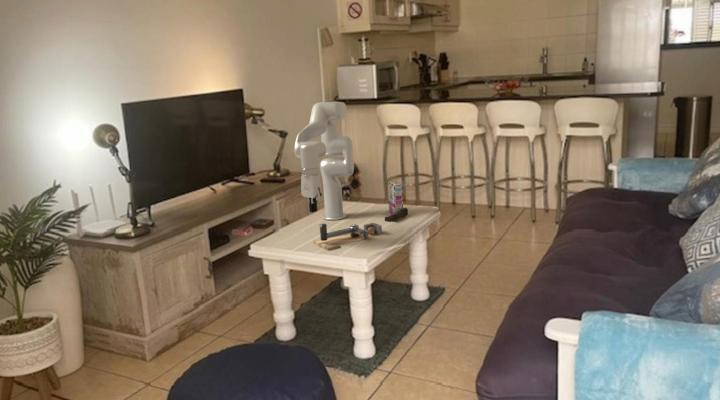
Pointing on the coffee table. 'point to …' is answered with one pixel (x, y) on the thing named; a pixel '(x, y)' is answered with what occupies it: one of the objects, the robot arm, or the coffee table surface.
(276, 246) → the coffee table surface
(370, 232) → the walnut
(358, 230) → the lever
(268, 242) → the coffee table surface
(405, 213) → the hand tool
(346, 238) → the tan wooden panel
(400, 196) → the candy bar box
